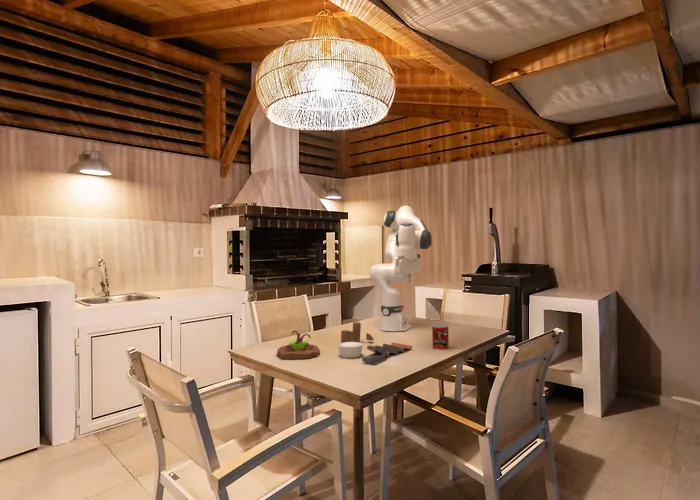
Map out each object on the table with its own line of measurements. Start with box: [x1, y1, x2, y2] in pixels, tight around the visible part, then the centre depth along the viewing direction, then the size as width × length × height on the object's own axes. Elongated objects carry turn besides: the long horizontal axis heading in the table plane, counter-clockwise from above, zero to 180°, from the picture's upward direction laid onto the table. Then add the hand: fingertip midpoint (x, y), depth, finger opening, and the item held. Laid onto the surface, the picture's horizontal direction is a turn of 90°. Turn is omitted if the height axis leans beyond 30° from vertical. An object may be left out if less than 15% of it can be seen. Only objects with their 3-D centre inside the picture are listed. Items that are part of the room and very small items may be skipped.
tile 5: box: [364, 357, 388, 366], centre depth 177 cm, size 2×5×10 cm
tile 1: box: [382, 343, 406, 353], centre depth 191 cm, size 2×5×10 cm
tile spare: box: [390, 342, 413, 350], centre depth 196 cm, size 2×5×10 cm
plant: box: [276, 330, 321, 360], centre depth 194 cm, size 20×20×11 cm
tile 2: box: [375, 344, 399, 355], centre depth 188 cm, size 2×5×10 cm
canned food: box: [431, 323, 450, 350], centre depth 201 cm, size 8×8×11 cm
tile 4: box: [361, 352, 386, 363], centre depth 178 cm, size 2×5×10 cm
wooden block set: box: [340, 321, 375, 343], centre depth 212 cm, size 18×9×10 cm, turn 127°
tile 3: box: [366, 345, 391, 358], centre depth 183 cm, size 2×5×10 cm
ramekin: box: [337, 342, 363, 359], centre depth 188 cm, size 11×11×5 cm
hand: (407, 283), depth 206 cm, fingers closed
